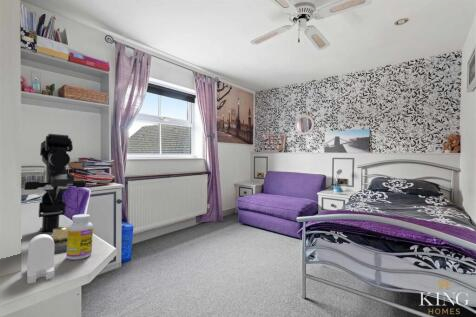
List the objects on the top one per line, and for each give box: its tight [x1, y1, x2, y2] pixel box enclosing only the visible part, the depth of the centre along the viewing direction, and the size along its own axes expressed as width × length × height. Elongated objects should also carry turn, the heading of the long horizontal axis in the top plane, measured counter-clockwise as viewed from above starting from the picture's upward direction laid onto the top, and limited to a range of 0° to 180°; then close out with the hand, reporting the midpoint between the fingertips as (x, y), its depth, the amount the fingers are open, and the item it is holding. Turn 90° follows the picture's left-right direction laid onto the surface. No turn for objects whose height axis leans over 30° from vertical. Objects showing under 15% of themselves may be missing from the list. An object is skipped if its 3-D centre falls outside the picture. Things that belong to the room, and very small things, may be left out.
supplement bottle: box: [66, 213, 94, 261], centre depth 75 cm, size 7×7×13 cm
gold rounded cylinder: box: [52, 226, 69, 244], centre depth 84 cm, size 4×4×6 cm
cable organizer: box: [26, 233, 55, 285], centre depth 63 cm, size 5×10×10 cm, turn 41°
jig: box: [50, 235, 67, 254], centre depth 84 cm, size 14×9×2 cm, turn 46°
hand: (55, 206), depth 92 cm, fingers closed
